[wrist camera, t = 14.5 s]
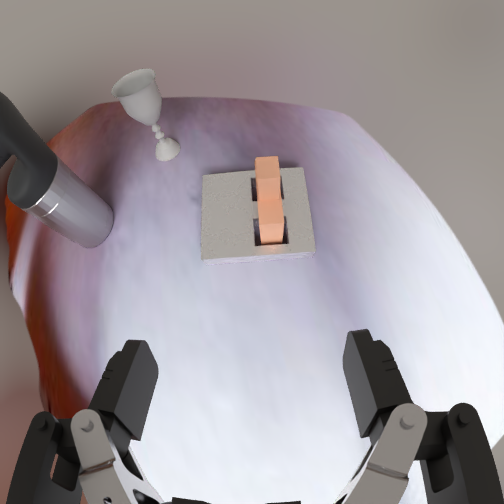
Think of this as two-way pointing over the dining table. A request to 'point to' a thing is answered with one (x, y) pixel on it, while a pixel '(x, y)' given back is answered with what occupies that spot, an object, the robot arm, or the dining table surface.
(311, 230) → the plate
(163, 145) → the chalice
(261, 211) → the clip
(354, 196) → the dining table surface
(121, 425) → the robot arm
